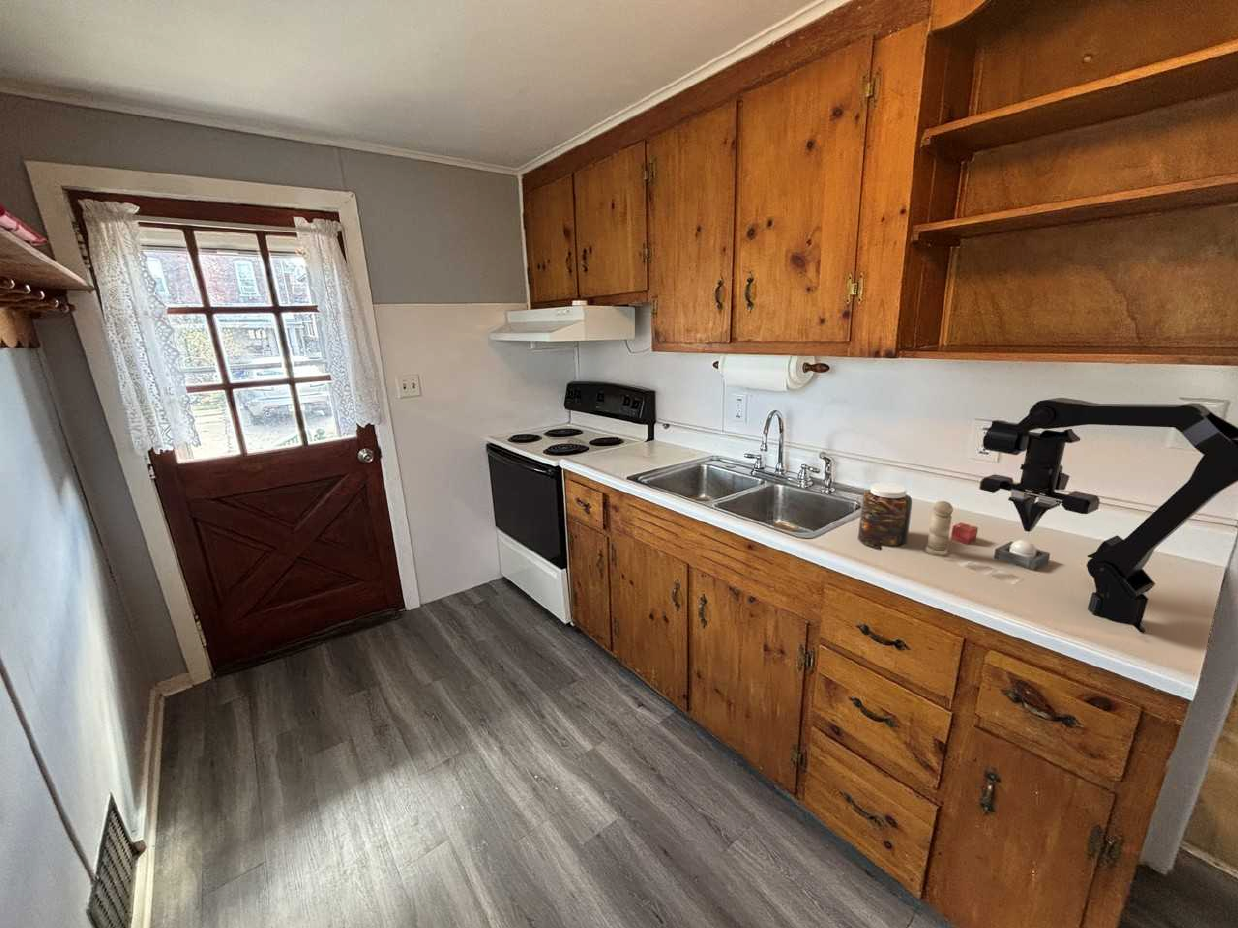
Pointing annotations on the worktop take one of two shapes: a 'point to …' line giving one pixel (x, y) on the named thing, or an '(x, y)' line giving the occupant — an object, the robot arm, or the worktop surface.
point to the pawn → (939, 529)
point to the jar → (885, 516)
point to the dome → (1023, 548)
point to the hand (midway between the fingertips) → (1027, 530)
